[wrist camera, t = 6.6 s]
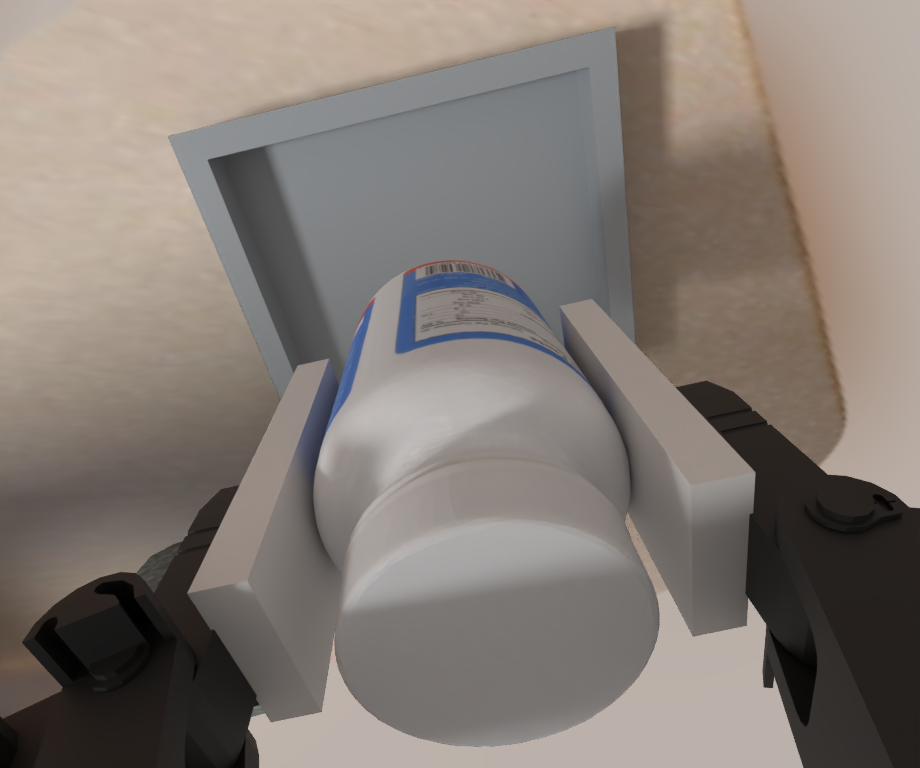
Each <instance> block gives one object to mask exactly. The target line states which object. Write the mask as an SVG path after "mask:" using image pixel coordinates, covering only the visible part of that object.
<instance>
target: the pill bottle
mask: <svg viewBox="0 0 920 768" xmlns="http://www.w3.org/2000/svg"><path fill="white" fill-rule="evenodd" d="M630 490H631V485H630V466H629V460H628V456H627V452H626V448H625V446H624V443H623V440H622V438H621V435H620V432H619V430H618V428H617V426H616V424H615V422H614V421H613V419H612V417H611V416H610V414H609V412H608V411H607V409H606V408H605V406H604V404H603V402H602V401H601V399H600V398H599V396H598V394H597V393H596V391H595V390H594V389H593V387H592V386H591V384H590V383H589V382H588V380H587V379H586V377H585V376H584V374H583V373H582V372H581V370H580V369H579V367H578V366H577V364H576V363H575V362H574V360H573V359H572V357H571V356H570V355H569V353H568V352H567V351H566V349H565V348H564V346H563V345H562V343H561V342H560V341H559V339H558V338H557V336H556V335H555V334H554V332H553V331H552V329H551V328H550V326H549V325H548V323H547V322H546V321H545V319H544V318H543V316H542V315H541V313H540V312H539V310H538V309H537V307H536V306H535V304H534V303H533V302H532V300H531V299H530V298H529V296H528V295H527V294H526V293H525V292H524V291H523V290H522V288H520V287H519V286H518V285H517V284H516V283H515V282H514V281H513V280H511V279H510V278H509V277H507V276H506V275H504V274H502V273H500V272H499V271H497V270H495V269H493V268H490V267H487V266H485V265H482V264H478V263H475V262H469V261H461V260H443V261H435V262H429V263H425V264H421V265H418V266H415V267H413V268H411V269H409V270H407V271H404V272H402V273H401V274H399V275H397V276H396V277H394V278H393V279H391V280H390V281H389V282H388V283H386V284H385V285H384V286H383V287H382V288H381V289H380V290H379V291H378V292H377V293H376V294H375V296H374V297H373V298H372V299H371V301H370V302H369V304H368V305H367V307H366V308H365V310H364V312H363V314H362V316H361V318H360V320H359V322H358V325H357V327H356V331H355V334H354V337H353V341H352V344H351V348H350V351H349V355H348V358H347V361H346V365H345V368H344V371H343V375H342V378H341V382H340V385H339V388H338V392H337V395H336V398H335V402H334V405H333V409H332V412H331V415H330V419H329V422H328V425H327V428H326V432H325V435H324V438H323V442H322V445H321V449H320V454H319V458H318V462H317V466H316V470H315V477H314V485H313V502H314V512H315V518H316V524H317V527H318V531H319V534H320V537H321V540H322V542H323V545H324V547H325V549H326V551H327V553H328V555H329V557H330V558H331V560H332V561H333V563H334V564H335V566H336V567H337V569H338V570H339V571H340V572H341V574H342V584H341V590H340V598H339V606H338V613H337V620H336V627H335V655H336V661H337V664H338V668H339V671H340V673H341V676H342V678H343V680H344V682H345V684H346V686H347V687H348V689H349V691H350V692H351V693H352V695H353V696H354V698H355V699H356V700H357V701H358V702H359V703H360V704H361V705H362V706H363V707H364V708H365V709H366V710H367V711H368V712H370V713H371V714H372V715H374V716H375V717H376V718H377V719H378V720H380V721H382V722H384V723H385V724H387V725H389V726H391V727H393V728H395V729H397V730H399V731H401V732H403V733H406V734H409V735H412V736H414V737H417V738H420V739H425V740H429V741H433V742H437V743H442V744H448V745H455V746H473V747H474V746H475V747H481V746H491V747H492V746H501V745H510V744H518V743H523V742H527V741H531V740H534V739H539V738H543V737H547V736H549V735H552V734H555V733H558V732H561V731H564V730H566V729H569V728H571V727H573V726H576V725H578V724H580V723H582V722H584V721H586V720H588V719H590V718H591V717H593V716H594V715H596V714H597V713H599V712H600V711H602V710H603V709H605V708H606V707H608V706H609V705H611V704H612V703H613V702H614V701H615V700H616V699H617V698H619V697H620V696H621V695H622V694H623V693H624V692H625V691H626V690H627V689H628V688H629V687H630V686H631V685H632V684H633V683H634V682H635V680H636V679H637V678H638V677H639V675H640V674H641V672H642V670H643V669H644V667H645V666H646V664H647V662H648V660H649V658H650V656H651V654H652V652H653V650H654V646H655V643H656V641H657V636H658V630H659V607H658V601H657V597H656V593H655V590H654V587H653V584H652V582H651V580H650V578H649V575H648V573H647V571H646V569H645V567H644V565H643V563H642V561H641V559H640V557H639V555H638V553H637V551H636V549H635V547H634V544H633V542H632V540H631V537H630V534H629V532H628V529H627V527H626V525H625V518H626V514H627V511H628V506H629V500H630Z"/></svg>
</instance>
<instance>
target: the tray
mask: <svg viewBox="0 0 920 768" xmlns="http://www.w3.org/2000/svg"><path fill="white" fill-rule="evenodd" d="M168 138H169V140H170V143H171V145H172V147H173V150H174V152H175V154H176V157H177V159H178V161H179V164H180V166H181V168H182V171H183V173H184V175H185V178H186V180H187V182H188V185H189V187H190V189H191V192H192V194H193V196H194V199H195V201H196V203H197V206H198V208H199V211H200V213H201V215H202V218H203V220H204V222H205V225H206V227H207V229H208V232H209V234H210V236H211V239H212V241H213V243H214V246H215V248H216V250H217V253H218V255H219V257H220V260H221V262H222V264H223V267H224V269H225V271H226V274H227V276H228V278H229V281H230V283H231V285H232V288H233V290H234V292H235V295H236V297H237V299H238V302H239V304H240V306H241V309H242V311H243V313H244V316H245V318H246V320H247V323H248V325H249V327H250V330H251V332H252V334H253V337H254V339H255V341H256V344H257V346H258V348H259V351H260V353H261V355H262V358H263V360H264V362H265V365H266V367H267V369H268V372H269V374H270V376H271V379H272V381H273V383H274V386H275V388H276V390H277V393H278V395H279V397H280V400H281V399H282V397H283V395H284V393H285V391H286V389H287V387H288V385H289V382H290V380H291V378H292V376H293V374H294V372H295V370H296V368H297V366H298V365H303V364H307V363H312V362H316V361H320V360H325V359H330V362H331V365H332V368H333V370H334V373H335V376H336V379H337V381H338V384H339V385H340V382H341V378H342V375H343V371H344V368H345V365H346V361H347V358H348V355H349V351H350V348H351V344H352V341H353V337H354V334H355V331H356V327H357V325H358V322H359V320H360V318H361V316H362V314H363V312H364V310H365V308H366V307H367V305H368V304H369V302H370V301H371V299H372V298H373V297H374V296H375V294H376V293H377V292H378V291H379V290H380V289H381V288H382V287H383V286H384V285H385V284H386V283H388V282H389V281H390V280H391V279H393V278H394V277H396V276H397V275H399V274H401V273H402V272H404V271H407V270H409V269H411V268H413V267H415V266H418V265H421V264H425V263H429V262H435V261H443V260H461V261H469V262H475V263H478V264H482V265H485V266H487V267H490V268H493V269H495V270H497V271H499V272H500V273H502V274H504V275H506V276H507V277H509V278H510V279H511V280H513V281H514V282H515V283H516V284H517V285H518V286H519V287H520V288H522V290H523V291H524V292H525V293H526V294H527V295H528V296H529V298H530V299H531V300H532V302H533V303H534V304H535V306H536V307H537V309H538V310H539V312H540V313H541V315H542V316H543V318H544V319H545V321H546V322H547V323H548V325H549V326H550V328H551V329H552V331H553V332H554V334H555V335H556V336H557V338H558V339H559V341H560V342H561V343H562V345H563V346H564V338H563V331H562V323H561V316H560V308H559V306H562V305H567V304H571V303H576V302H580V301H584V300H589V299H593V300H594V301H595V303H596V304H597V305H598V306H599V307H600V308H601V309H602V310H603V311H604V312H605V313H606V314H607V315H608V316H609V317H610V318H611V320H612V321H613V322H614V323H615V324H616V325H617V326H618V327H619V328H620V329H621V330H622V331H623V332H624V333H625V334H626V335H627V337H628V338H629V339H630V340H631V341H632V342H633V343H634V344H635V345H636V343H635V328H634V312H633V297H632V281H631V266H630V251H629V235H628V220H627V204H626V189H625V173H624V158H623V143H622V127H621V112H620V96H619V81H618V65H617V50H616V35H615V27H612V28H608V29H604V30H599V31H595V32H591V33H587V34H583V35H579V36H575V37H571V38H567V39H563V40H559V41H555V42H550V43H546V44H542V45H538V46H534V47H530V48H526V49H522V50H518V51H514V52H510V53H506V54H501V55H497V56H493V57H489V58H485V59H481V60H477V61H473V62H469V63H465V64H461V65H457V66H452V67H448V68H444V69H440V70H436V71H432V72H428V73H424V74H420V75H416V76H412V77H408V78H403V79H399V80H395V81H391V82H387V83H383V84H379V85H375V86H371V87H367V88H363V89H359V90H354V91H350V92H346V93H342V94H338V95H334V96H330V97H326V98H322V99H318V100H314V101H310V102H305V103H301V104H297V105H293V106H289V107H285V108H281V109H277V110H273V111H269V112H265V113H260V114H256V115H252V116H248V117H244V118H240V119H236V120H232V121H228V122H224V123H220V124H216V125H211V126H207V127H203V128H199V129H195V130H191V131H187V132H183V133H179V134H175V135H171V136H168ZM564 348H565V346H564Z"/></svg>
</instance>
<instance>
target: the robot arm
mask: <svg viewBox="0 0 920 768" xmlns="http://www.w3.org/2000/svg"><path fill="white" fill-rule="evenodd" d="M559 308H560V316H561V323H562V331H563V338H564V346H565V349H566V351H567V352H568V353H569V355H570V356H571V357H572V359H573V360H574V362H575V363H576V364H577V366H578V367H579V369H580V370H581V372H582V373H583V374H584V376H585V377H586V379H587V380H588V382H589V383H590V384H591V386H592V387H593V389H594V390H595V391H596V393H597V394H598V396H599V398H600V399H601V401H602V402H603V404H604V406H605V408H606V409H607V411H608V412H609V414H610V416H611V417H612V419H613V421H614V422H615V424H616V426H617V428H618V430H619V432H620V435H621V438H622V440H623V443H624V446H625V448H626V452H627V456H628V460H629V466H630V485H631V490H630V500H629V506H628V511H627V512H628V514H629V515H630V517H631V519H632V521H633V523H634V525H635V527H636V529H637V531H638V533H639V534H640V536H641V538H642V540H643V542H644V544H645V546H646V548H647V550H648V552H649V554H650V555H651V557H652V559H653V561H654V563H655V565H656V567H657V569H658V571H659V573H660V574H661V576H662V578H663V580H664V582H665V584H666V586H667V588H668V590H669V592H670V594H671V595H672V597H673V599H674V601H675V603H676V605H677V607H678V609H679V611H680V613H681V614H682V616H683V618H684V620H685V622H686V624H687V626H688V628H689V630H690V632H691V633H692V635H693V636H698V635H702V634H707V633H713V632H717V631H723V630H728V629H732V628H737V627H742V626H747V610H748V598H749V599H750V601H751V602H752V604H753V605H754V607H755V608H756V609H757V611H758V612H759V614H760V615H761V617H762V619H763V620H764V621H765V623H766V624H767V625H766V638H765V649H764V661H763V683H764V687H767V688H773V681H774V677H775V680H776V683H777V686H778V689H779V692H780V695H781V698H782V702H783V705H784V708H785V711H786V714H787V717H788V720H789V724H790V727H791V730H792V733H793V736H794V739H795V743H796V746H797V749H798V752H799V755H800V758H801V761H802V764H803V767H804V768H920V508H910V507H908V506H907V505H906V504H905V503H904V502H902V501H901V500H900V499H899V498H898V497H897V496H896V495H894V494H893V493H891V492H889V491H887V490H885V489H883V488H881V487H879V486H877V485H875V484H873V483H870V482H866V481H863V480H859V479H855V478H852V477H848V476H838V475H827V474H826V473H825V472H824V471H823V470H822V469H821V468H819V467H818V466H817V465H816V464H815V463H814V462H813V461H812V460H810V459H809V458H808V457H807V456H806V455H805V454H804V453H802V452H801V451H800V450H799V449H798V448H797V447H796V446H794V445H793V444H792V443H791V442H790V441H789V440H788V439H787V438H785V437H784V436H783V435H782V434H781V433H780V432H779V431H777V430H776V429H775V428H774V427H773V426H772V425H768V424H767V421H766V420H765V419H764V418H763V417H761V416H760V415H759V414H758V413H757V412H756V411H752V408H751V407H750V406H749V405H748V404H747V403H746V402H744V401H743V400H742V399H741V398H740V397H739V396H738V395H736V394H735V393H734V392H733V391H730V390H728V389H725V388H723V387H721V386H718V385H716V384H713V383H711V382H708V381H703V382H699V383H694V384H690V385H685V386H680V387H675V386H674V385H673V384H672V383H671V382H670V381H669V380H668V379H667V378H666V377H665V376H664V375H663V374H662V373H661V372H660V370H659V369H658V368H657V367H656V366H655V365H654V364H653V363H652V362H651V361H650V360H649V359H648V358H647V357H646V356H645V355H644V354H643V352H642V351H641V350H640V349H639V348H638V347H637V346H636V345H635V344H634V343H633V342H632V341H631V340H630V339H629V338H628V337H627V335H626V334H625V333H624V332H623V331H622V330H621V329H620V328H619V327H618V326H617V325H616V324H615V323H614V322H613V321H612V320H611V318H610V317H609V316H608V315H607V314H606V313H605V312H604V311H603V310H602V309H601V308H600V307H599V306H598V305H597V304H596V303H595V301H594V300H593V299H589V300H584V301H580V302H576V303H571V304H567V305H562V306H559ZM338 388H339V384H338V381H337V379H336V376H335V373H334V370H333V368H332V365H331V362H330V359H325V360H320V361H316V362H312V363H307V364H303V365H298V366H297V368H296V370H295V372H294V374H293V376H292V378H291V380H290V382H289V385H288V387H287V389H286V391H285V393H284V395H283V397H282V399H281V401H280V403H279V405H278V407H277V409H276V411H275V413H274V415H273V418H272V420H271V422H270V424H269V426H268V428H267V430H266V432H265V434H264V436H263V438H262V440H261V442H260V444H259V446H258V448H257V451H256V453H255V455H254V457H253V459H252V461H251V463H250V465H249V467H248V469H247V471H246V473H245V475H244V477H243V479H242V481H241V484H240V485H239V486H235V487H230V488H226V489H221V490H220V491H219V492H218V493H217V494H216V495H215V496H214V497H213V498H212V499H211V500H210V501H209V502H208V503H207V504H206V505H205V506H204V507H203V508H202V509H201V510H200V511H199V513H198V515H197V516H196V518H195V520H194V522H193V524H192V525H191V527H190V529H189V531H188V536H186V537H185V538H184V540H183V542H182V543H181V545H180V547H179V549H178V555H175V556H174V558H173V560H172V562H171V563H170V565H169V567H168V569H167V571H166V572H165V574H164V576H163V578H162V580H161V581H160V583H159V585H158V587H157V589H156V590H155V592H154V593H153V591H152V590H151V589H150V587H149V586H148V584H147V583H146V581H145V580H144V579H143V578H141V577H140V576H139V575H138V574H136V573H126V572H119V573H115V574H112V575H108V576H104V577H101V578H98V579H96V580H94V581H92V582H90V583H88V584H86V585H84V586H82V587H80V588H78V589H76V590H75V591H73V592H72V593H71V594H69V595H68V596H66V597H65V598H63V599H62V600H61V601H59V602H58V603H56V604H55V605H54V606H53V607H52V608H51V609H50V610H49V611H48V612H47V613H45V614H44V615H43V616H42V617H41V618H40V619H39V620H38V621H37V622H36V623H35V624H34V626H33V627H32V629H31V630H30V632H29V633H28V635H27V636H26V638H25V639H24V641H23V642H22V643H23V644H24V645H25V647H26V648H27V649H28V650H29V651H30V652H31V653H32V654H33V655H34V656H35V657H36V659H37V660H38V661H39V662H40V663H41V664H42V665H43V666H44V667H45V668H46V669H47V671H48V672H49V673H50V674H51V675H52V676H53V677H54V678H55V679H56V680H57V681H58V683H59V684H60V685H61V686H62V687H63V688H62V691H61V692H59V693H57V694H55V695H53V696H50V697H48V698H46V699H44V700H42V701H40V702H38V703H36V704H34V705H31V706H29V707H27V708H25V709H23V710H21V711H19V712H17V713H14V714H12V715H10V716H8V717H6V718H4V719H2V718H1V717H0V768H259V753H258V749H257V744H256V740H255V739H254V737H253V736H252V734H251V733H250V731H249V730H248V726H249V722H250V719H251V715H252V712H253V708H254V704H255V701H256V700H257V701H258V703H259V705H260V706H261V708H262V709H263V711H264V712H265V714H266V715H267V717H268V718H269V720H270V721H271V722H274V721H279V720H284V719H289V718H294V717H299V716H304V715H309V714H314V713H318V712H322V706H323V700H324V694H325V688H326V681H327V675H328V669H329V663H330V657H331V651H332V645H333V639H334V632H335V626H336V620H337V613H338V606H339V598H340V590H341V584H342V574H341V572H340V571H339V570H338V569H337V567H336V566H335V564H334V563H333V561H332V560H331V558H330V557H329V555H328V553H327V551H326V549H325V547H324V545H323V542H322V540H321V537H320V534H319V531H318V527H317V524H316V518H315V512H314V502H313V485H314V477H315V470H316V466H317V462H318V458H319V454H320V449H321V445H322V442H323V438H324V435H325V432H326V428H327V425H328V422H329V419H330V415H331V412H332V409H333V405H334V402H335V398H336V395H337V392H338Z"/></svg>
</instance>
